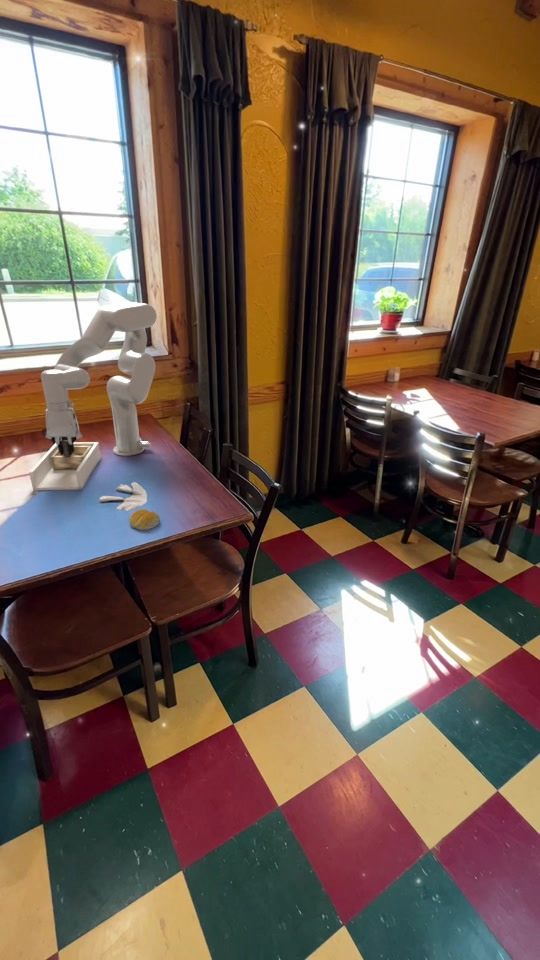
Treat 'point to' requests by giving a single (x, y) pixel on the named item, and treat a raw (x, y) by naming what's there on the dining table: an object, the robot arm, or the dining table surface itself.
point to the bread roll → (144, 519)
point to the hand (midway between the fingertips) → (67, 453)
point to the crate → (69, 457)
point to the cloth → (129, 503)
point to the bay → (64, 470)
